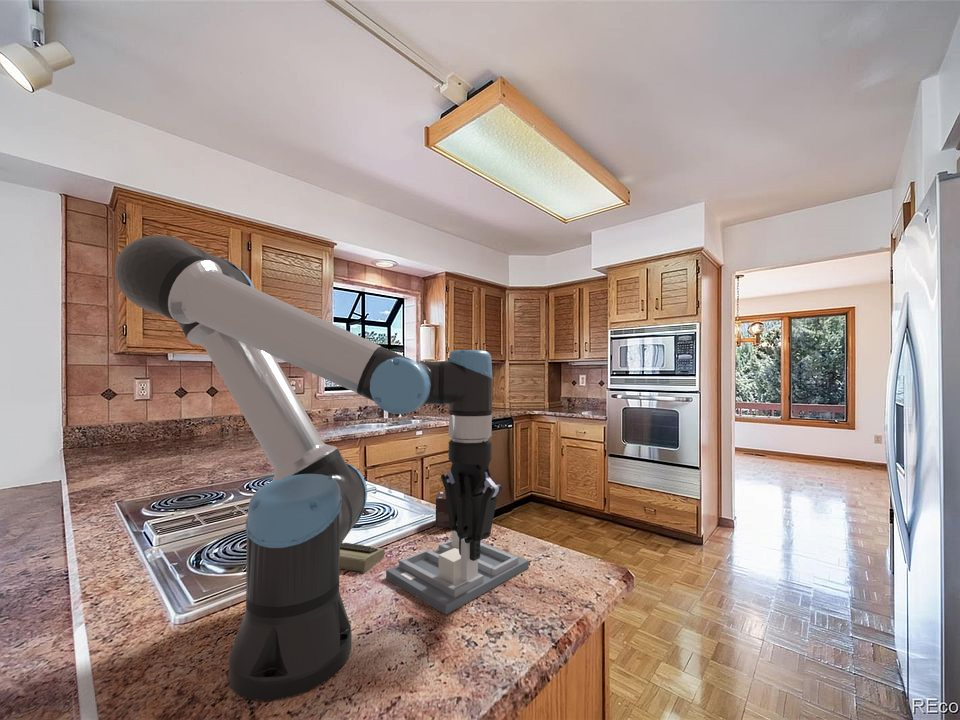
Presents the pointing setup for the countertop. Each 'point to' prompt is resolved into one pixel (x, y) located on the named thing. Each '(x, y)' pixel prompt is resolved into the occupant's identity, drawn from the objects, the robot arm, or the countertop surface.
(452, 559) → the tab
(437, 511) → the box
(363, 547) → the computer
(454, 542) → the tab
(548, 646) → the countertop surface
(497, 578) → the grey compartment tray
